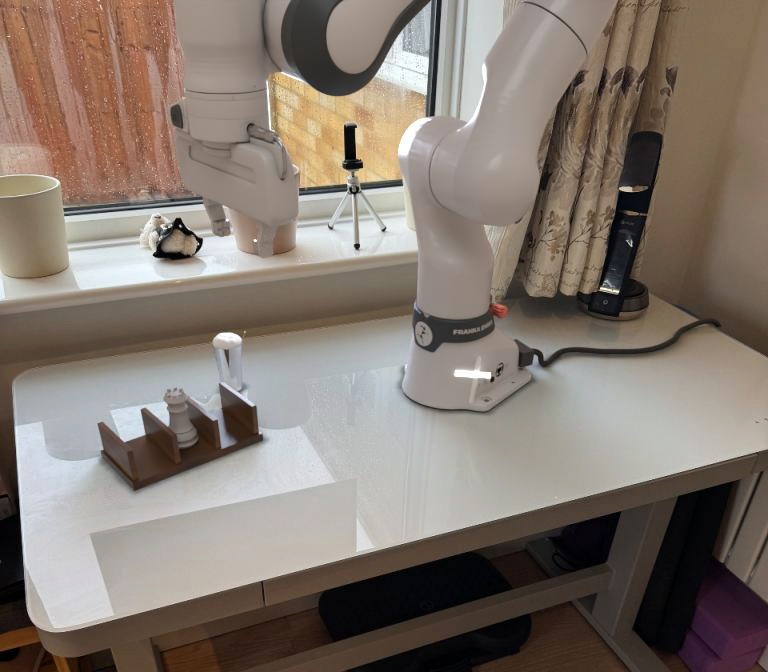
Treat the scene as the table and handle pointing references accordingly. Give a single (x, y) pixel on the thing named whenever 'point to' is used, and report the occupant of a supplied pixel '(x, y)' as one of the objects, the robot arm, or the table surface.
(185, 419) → the rook chess piece
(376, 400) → the table surface
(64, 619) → the table surface
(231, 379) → the milkshake
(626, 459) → the table surface
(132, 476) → the plate rack
